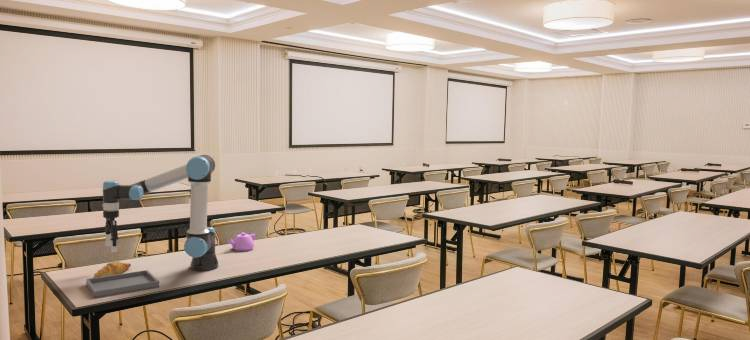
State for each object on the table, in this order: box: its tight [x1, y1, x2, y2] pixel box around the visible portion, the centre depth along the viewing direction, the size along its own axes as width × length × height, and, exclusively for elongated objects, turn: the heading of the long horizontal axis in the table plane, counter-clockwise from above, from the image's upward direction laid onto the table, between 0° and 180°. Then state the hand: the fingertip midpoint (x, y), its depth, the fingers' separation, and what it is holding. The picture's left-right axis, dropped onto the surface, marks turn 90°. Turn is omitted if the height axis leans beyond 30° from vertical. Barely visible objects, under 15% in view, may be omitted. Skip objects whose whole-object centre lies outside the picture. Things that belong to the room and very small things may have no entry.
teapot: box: [227, 232, 256, 252], centre depth 337 cm, size 14×20×11 cm
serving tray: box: [85, 269, 160, 299], centre depth 261 cm, size 29×22×3 cm
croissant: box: [93, 260, 132, 278], centre depth 279 cm, size 21×10×8 cm, turn 153°
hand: (111, 249), depth 279 cm, fingers open, 13 cm apart
